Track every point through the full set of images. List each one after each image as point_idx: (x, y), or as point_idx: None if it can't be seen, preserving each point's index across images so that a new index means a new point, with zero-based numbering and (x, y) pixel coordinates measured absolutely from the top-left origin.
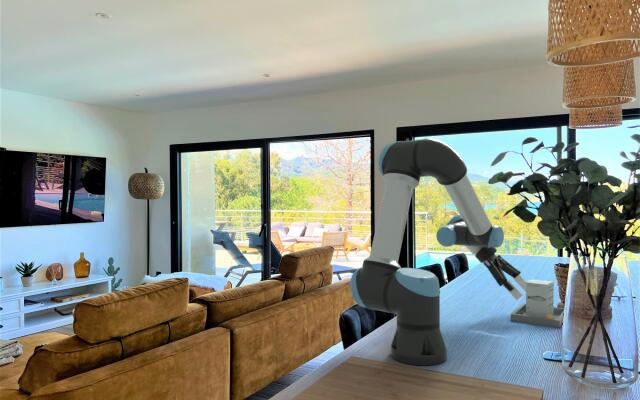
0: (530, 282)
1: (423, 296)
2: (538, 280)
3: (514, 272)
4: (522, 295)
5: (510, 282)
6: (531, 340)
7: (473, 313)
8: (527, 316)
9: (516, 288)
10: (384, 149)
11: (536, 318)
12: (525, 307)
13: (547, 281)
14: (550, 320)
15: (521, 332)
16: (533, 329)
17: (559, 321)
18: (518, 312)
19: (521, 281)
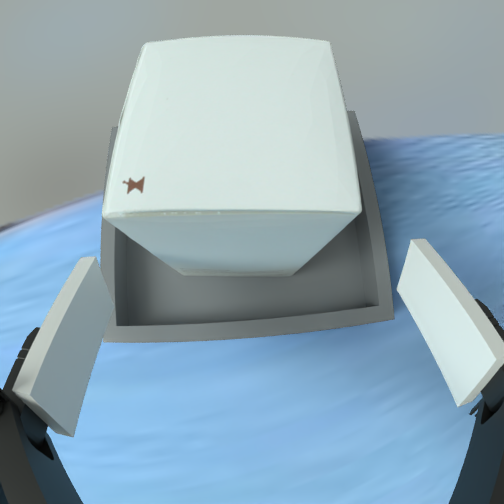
0: (350, 163)
1: None
2: (175, 122)
3: (33, 454)
4: (410, 246)
5: (497, 332)
6: (492, 190)
7: (314, 500)
8: (383, 235)
9: (455, 280)
10: None
11: (373, 196)
12: (123, 325)
13: (179, 60)
14: (362, 142)
15: (459, 235)
16: (404, 209)
17: (353, 113)
18: (289, 316)
19: (69, 356)
